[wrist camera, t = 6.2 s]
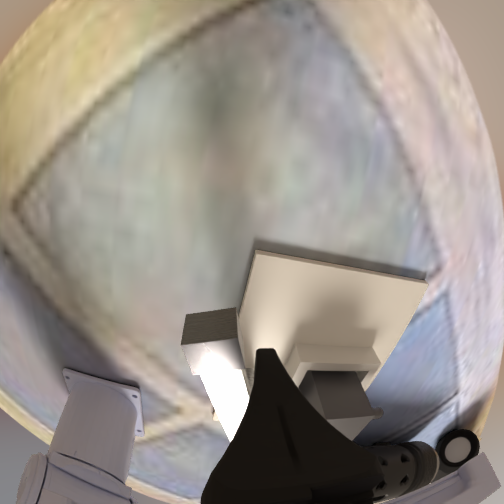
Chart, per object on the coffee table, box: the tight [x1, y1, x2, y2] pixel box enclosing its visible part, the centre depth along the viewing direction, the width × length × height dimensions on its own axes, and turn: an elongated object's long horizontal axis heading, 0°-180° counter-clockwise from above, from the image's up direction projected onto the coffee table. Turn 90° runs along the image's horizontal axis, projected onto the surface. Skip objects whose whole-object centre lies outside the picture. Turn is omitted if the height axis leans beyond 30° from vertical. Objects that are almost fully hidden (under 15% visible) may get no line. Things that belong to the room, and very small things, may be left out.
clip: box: [181, 307, 254, 442], centre depth 15 cm, size 2×12×8 cm, turn 8°
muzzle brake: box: [360, 441, 439, 503], centre depth 27 cm, size 10×28×10 cm, turn 63°
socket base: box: [213, 250, 429, 421], centre depth 21 cm, size 18×14×3 cm
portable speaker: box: [431, 429, 480, 483], centre depth 37 cm, size 26×10×10 cm, turn 27°
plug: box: [298, 370, 383, 441], centre depth 20 cm, size 4×7×6 cm, turn 77°
